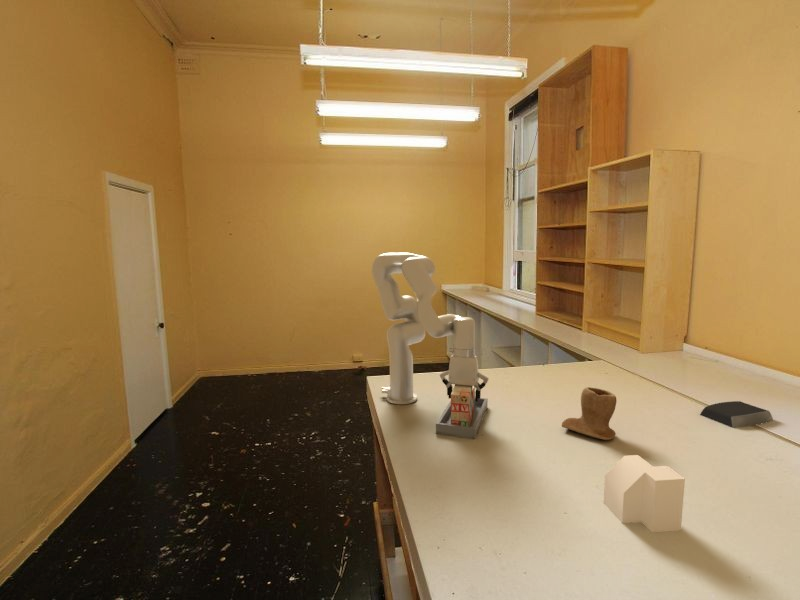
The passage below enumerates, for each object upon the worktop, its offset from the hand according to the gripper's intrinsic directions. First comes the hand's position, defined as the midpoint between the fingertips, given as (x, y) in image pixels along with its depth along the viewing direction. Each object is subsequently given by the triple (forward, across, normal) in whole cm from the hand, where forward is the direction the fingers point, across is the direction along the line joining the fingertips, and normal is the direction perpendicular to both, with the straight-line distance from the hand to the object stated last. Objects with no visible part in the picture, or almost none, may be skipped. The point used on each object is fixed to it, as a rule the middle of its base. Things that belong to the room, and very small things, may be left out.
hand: (463, 398), depth 148 cm
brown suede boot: (+8, +42, +3) cm, 43 cm away
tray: (+8, 0, 0) cm, 8 cm away
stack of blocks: (+7, 0, 0) cm, 7 cm away
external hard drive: (+9, +92, +32) cm, 97 cm away
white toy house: (+8, +49, -40) cm, 64 cm away
